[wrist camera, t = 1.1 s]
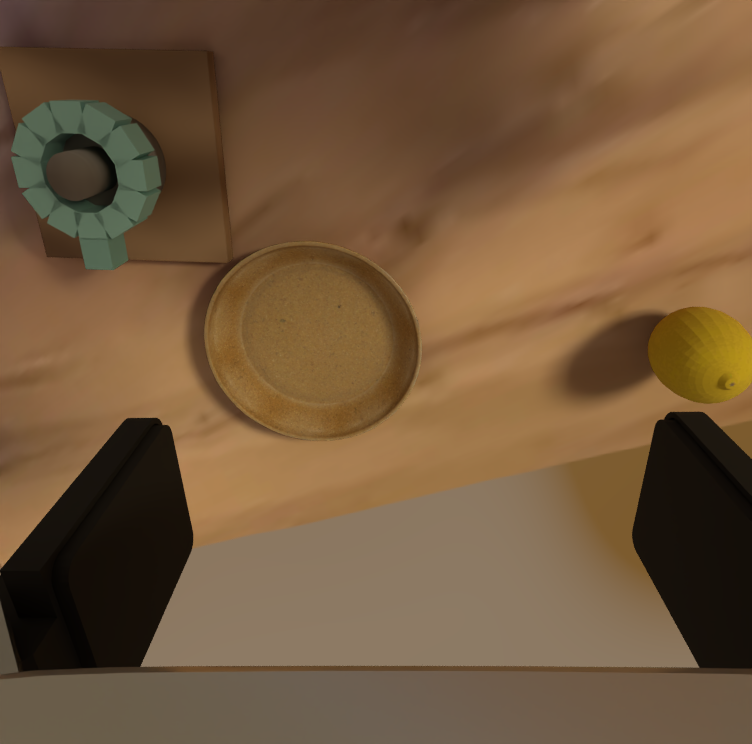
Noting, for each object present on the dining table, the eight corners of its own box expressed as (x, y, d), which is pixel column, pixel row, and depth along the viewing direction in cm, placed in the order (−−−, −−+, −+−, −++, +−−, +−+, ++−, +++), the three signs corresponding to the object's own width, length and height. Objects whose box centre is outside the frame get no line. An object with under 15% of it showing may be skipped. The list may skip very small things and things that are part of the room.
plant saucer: (211, 405, 44) (200, 423, 41) (218, 213, 37) (205, 222, 35) (400, 436, 44) (399, 456, 42) (441, 252, 37) (443, 264, 35)
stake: (8, 47, 33) (-85, 39, 27) (213, 51, 32) (167, 45, 26) (57, 252, 38) (-11, 285, 32) (233, 257, 38) (199, 292, 32)
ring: (19, 98, 30) (-4, 99, 29) (149, 101, 30) (133, 102, 28) (58, 257, 34) (39, 267, 33) (172, 261, 34) (160, 271, 32)
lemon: (630, 370, 40) (678, 432, 33) (631, 297, 38) (683, 347, 31) (712, 358, 40) (779, 419, 33) (718, 283, 37) (792, 331, 30)
